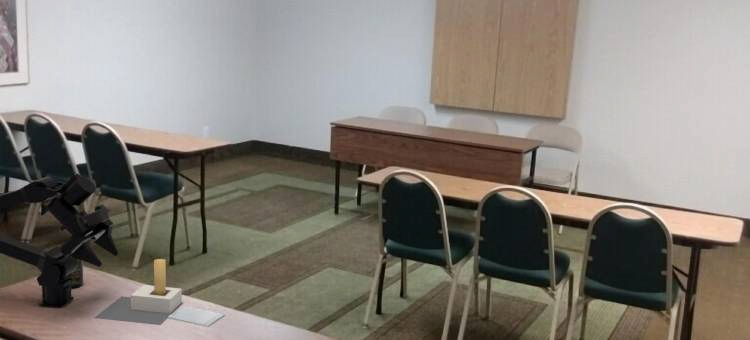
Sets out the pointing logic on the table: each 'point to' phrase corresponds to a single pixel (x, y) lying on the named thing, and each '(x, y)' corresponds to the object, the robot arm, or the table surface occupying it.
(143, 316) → the mat
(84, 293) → the table surface
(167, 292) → the hole block
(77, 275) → the supplement container
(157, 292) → the peg
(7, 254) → the robot arm
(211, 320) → the hard drive
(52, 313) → the table surface
